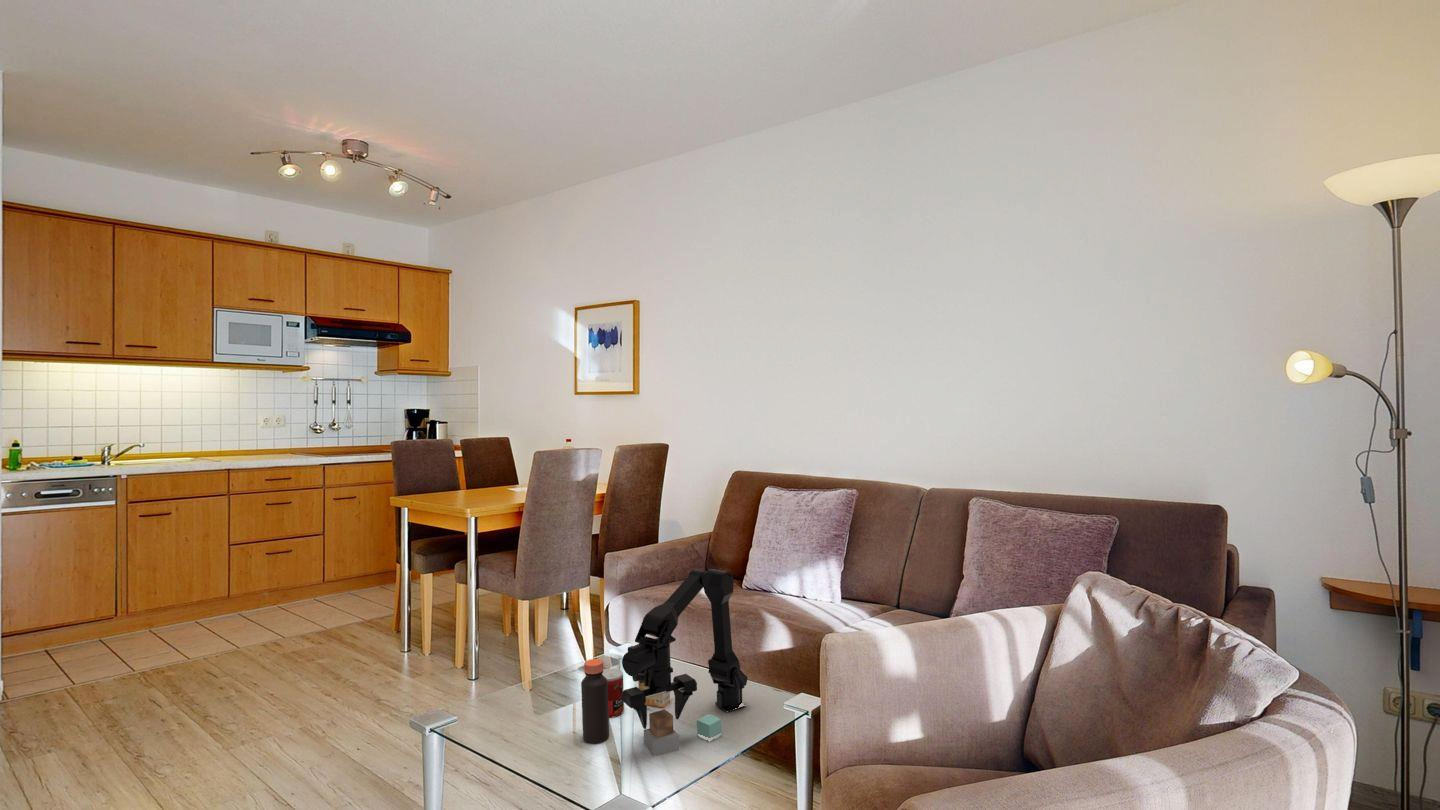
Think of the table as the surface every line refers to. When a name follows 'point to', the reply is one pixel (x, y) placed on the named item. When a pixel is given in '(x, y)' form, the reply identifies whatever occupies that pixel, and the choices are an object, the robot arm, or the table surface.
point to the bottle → (595, 703)
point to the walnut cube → (661, 723)
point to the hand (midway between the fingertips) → (660, 723)
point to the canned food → (614, 691)
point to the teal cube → (709, 726)
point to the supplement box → (655, 697)
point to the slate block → (661, 743)
